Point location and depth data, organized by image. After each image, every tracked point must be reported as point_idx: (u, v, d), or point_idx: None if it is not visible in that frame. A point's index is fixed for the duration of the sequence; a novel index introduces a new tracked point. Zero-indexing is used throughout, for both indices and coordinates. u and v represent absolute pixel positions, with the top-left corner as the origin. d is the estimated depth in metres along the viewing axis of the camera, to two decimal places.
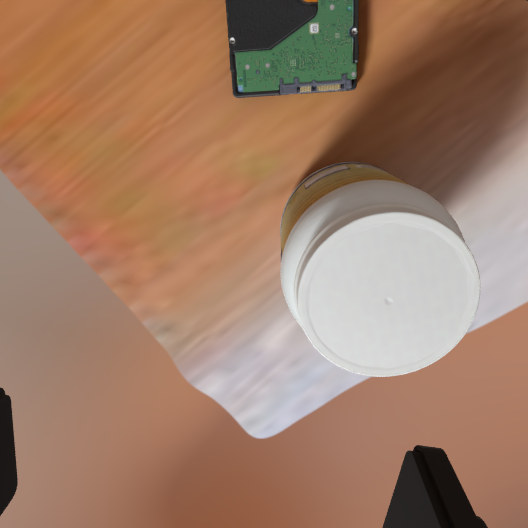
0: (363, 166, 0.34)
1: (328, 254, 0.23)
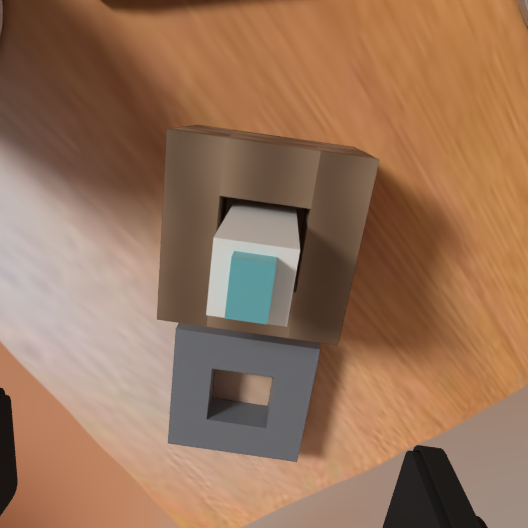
0: None
1: None
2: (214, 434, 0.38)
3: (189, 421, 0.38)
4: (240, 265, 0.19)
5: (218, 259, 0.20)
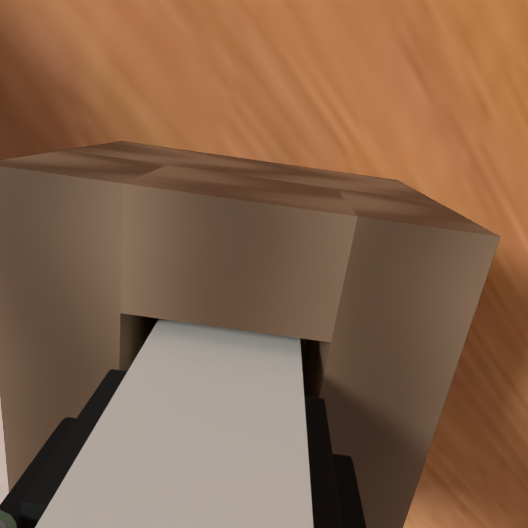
0: None
1: None
2: None
3: None
4: None
5: None
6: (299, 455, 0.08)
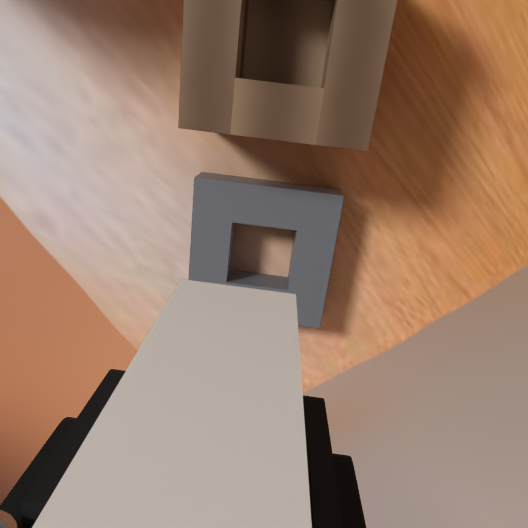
0: None
1: None
2: None
3: None
4: None
5: None
6: (297, 453, 0.08)
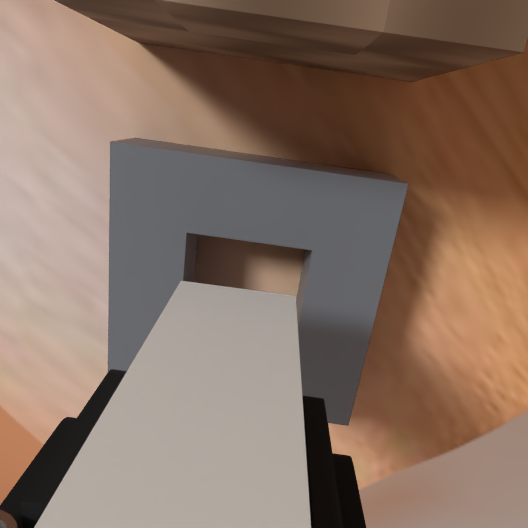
0: None
1: None
2: None
3: None
4: None
5: None
6: (297, 456, 0.08)
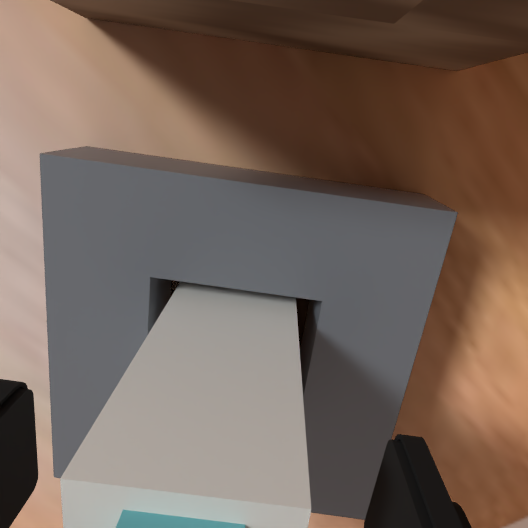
0: None
1: None
2: None
3: None
4: None
5: None
6: (295, 395, 0.09)
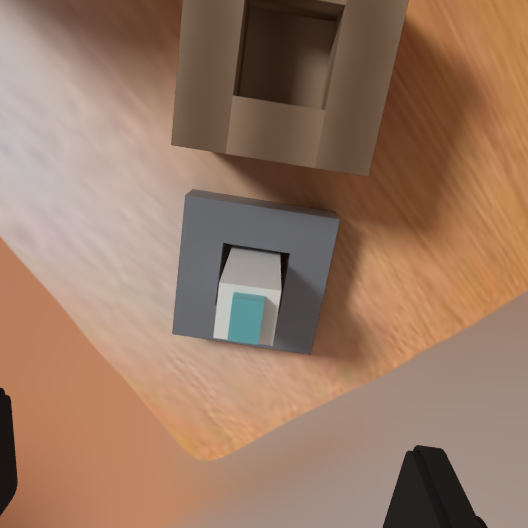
0: None
1: None
2: None
3: (196, 307, 0.35)
4: (239, 302, 0.26)
5: (222, 297, 0.27)
6: (278, 275, 0.30)
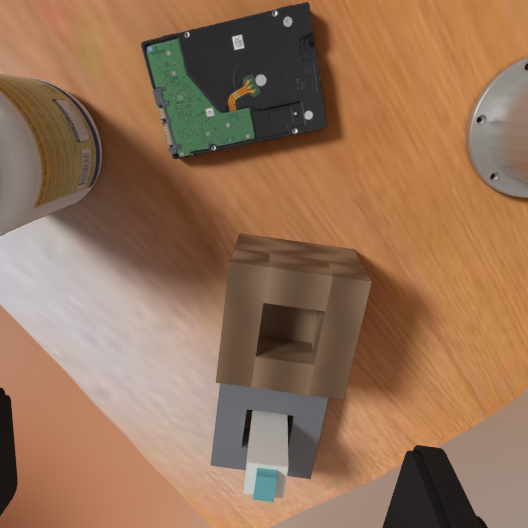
0: (86, 155, 0.37)
1: None
2: (246, 458, 0.49)
3: (227, 448, 0.49)
4: (260, 478, 0.40)
5: (249, 471, 0.41)
6: (286, 445, 0.43)
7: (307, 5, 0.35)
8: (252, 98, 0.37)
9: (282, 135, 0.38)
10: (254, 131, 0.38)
